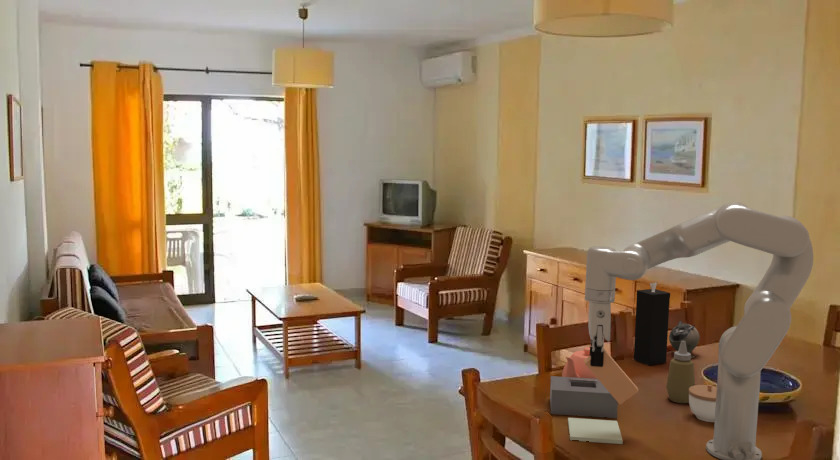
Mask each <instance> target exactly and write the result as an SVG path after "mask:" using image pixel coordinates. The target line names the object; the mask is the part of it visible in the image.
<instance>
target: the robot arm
mask: <svg viewBox="0 0 840 460" xmlns="http://www.w3.org/2000/svg"><path fill="white" fill-rule="evenodd" d="M729 242H733V243H735V244H738V245H741V246H744V247H747V248H751V249H754V250H758V251H761V252H764V253H768V254H771V255H772V260H771V262H770V264H769V267H768V268H767V270H766V272H765V273H764V275H763V277H762V278H761V280H760V281H759V283H758V285H756V287H755V289H753V292H752V293H751V294H750V296H749V297H748V299H746V302H745V303H744V308H743V313H744V315H743V316H742V318H741V319H740V321H739V323H738V324H737V325H735V326H731V327H730V328H728V329H726V330H725V331H724V332H723V333H722V335H721V337H720V338H719V342H718V358H717V359H718V360H717V361H718V362H717V377H716V378H717V380H716V387H717V392H716V407H715V422H713V423H714V424H713V425H714V426H713V439H712V438H711V439H710V440H708V441H707V442H706V444H705V449H706V451H707V453H709V454H710V455H711V456H713V457H715V458H718V459H719V460H762V458H763V457H762V456H763V455H762V453H763V452H762V450H761V449H760V448H758V447H757V445H756V441H757V438H756V437H757V427H758V414H759V402H760V401H759V399H760V391H761V390H760V388H761V385H760V384H761V372H762V369H763V368H764V367H765V366H766V365H767V363H768V362H769V360H770V359H771V357H772V356H773V355H774V354H775V351H776V350H777V348H778V347H779V346H780V344H781V343H782V341H783V340H784V338H785V337H786V336H787V333H788V332H789V330H790V327H791V324H792V312H791V308H792V307H793V305H794V303H795V301H796V300H797V299H798V297H799V295H800V293H801V291H802V290H803V289H804V286H805V285H806V284H807V281H808V279H809V277H810V276H811V273H812V270H813V265H814V249H813V244H812V240H811V238H810V232H809V231H808V229H807V228H806V227H805V225H804V224H803V223H802V222H801V221H799V220H798V218H796V217H793V216H790V215H780V216H776V215H772V214H769V213H766V212H764V211H759V210H756V209H753V208H750V207H749V206H747V205H746V204H745V203H742V202H739V201H733V202H727V203H725V204H722V205H721V206H717V207H716V208H714V209H711V210H709V211H706V212H705V213H702V214H700V215H698V216H695V217H693V218H690V219H689V220H686V221H684V222H682V223H679V224H676V225H674V226H672V227H670V228H668V229H666V230H664V231H662V232H659V233H657V234H654V235H652V236H649V237H647V238H645V239H643V240H640V241H638V242H636V243H633V244H630V245H629V246H627V247H625V248H624V249H623V250H616V249H615V248H614V247H610V246H604V245H602V246H601V245H597V246H592V247H588V249H587V251H586V263H585V264H586V266H585V282H584V283H585V287H584V301H586V302H588V315H587V316H588V317H587V318H588V320H587V321H588V324H587V325H588V326H587V327H588V335H589V338H590V347H589V348H590V356H591V361H590V365H591V366H596V367H603V360H604V351H603V349H605V346H604V345H605V343H604V342H605V341H607V342H610V341H611V326H612V325H611V323H612V322H611V321H612V315H611V314H612V307H611V306H612V304H613V303H615V301H616V300H615V298H616V285H617V283H616V282H617V281H616V280H617V278H619V279H622V280H628V281H637V280H639V279H641V278H643V276H645V274H646V272H647V270H649V269H652V268H655V267H656V266H658V265H661V264H663V263H664V264H665V263H666V262H669V261H672V260H676V259H682V258H684V259H685V258H691V257H695V256H698V255H700V254H703V253H705V252H707V251H709V250H713V249H714V248H717V247H718V246H722V245H724V244H727V243H729Z"/></svg>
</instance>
